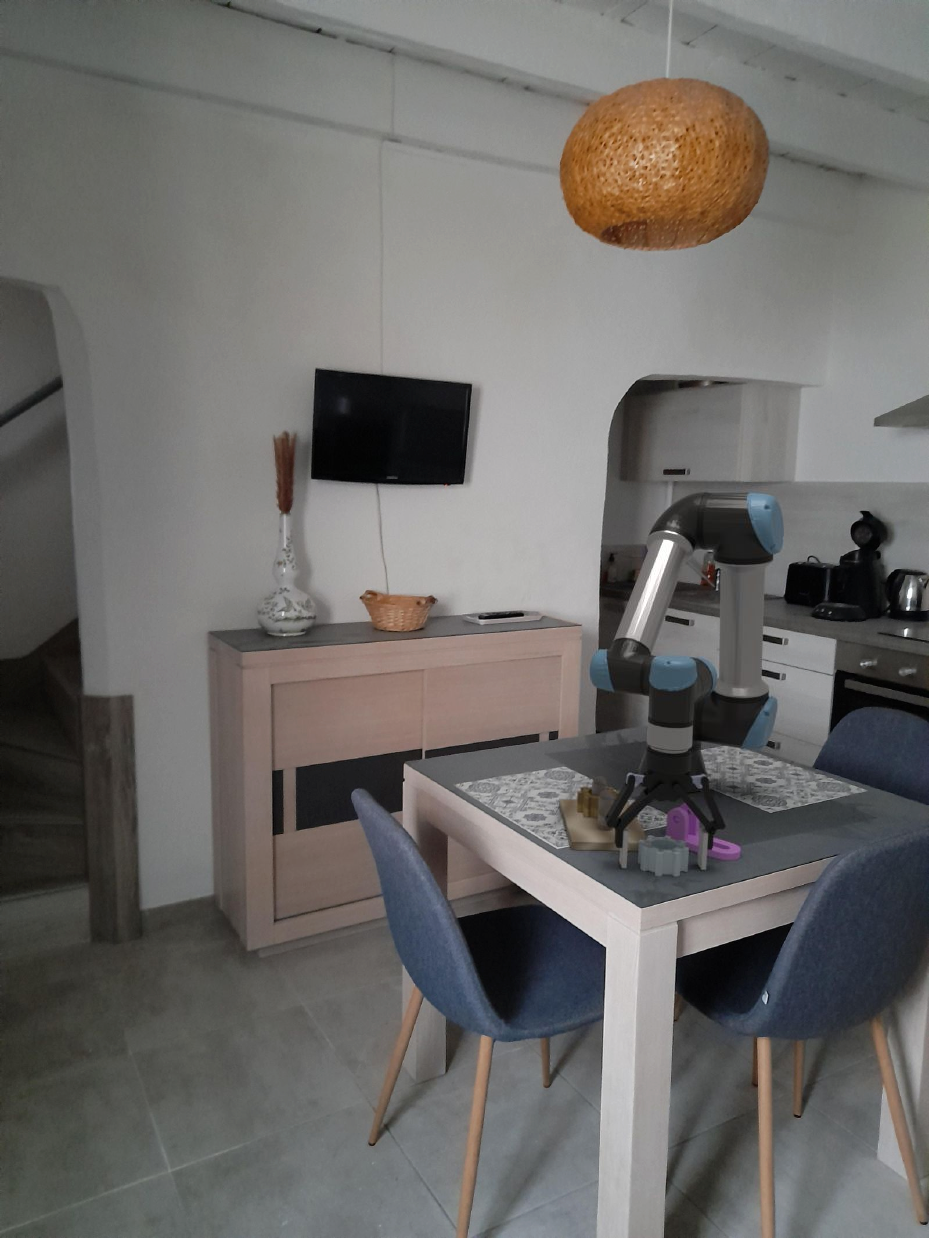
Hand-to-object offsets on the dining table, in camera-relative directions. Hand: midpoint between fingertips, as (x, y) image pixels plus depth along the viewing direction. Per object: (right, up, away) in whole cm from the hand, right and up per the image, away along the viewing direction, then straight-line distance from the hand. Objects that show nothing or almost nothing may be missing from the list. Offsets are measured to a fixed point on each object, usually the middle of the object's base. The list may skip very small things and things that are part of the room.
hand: (662, 866), depth 153 cm
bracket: (+10, +1, +9) cm, 13 cm away
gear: (0, 0, 0) cm, 0 cm away
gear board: (-8, +3, +17) cm, 19 cm away
